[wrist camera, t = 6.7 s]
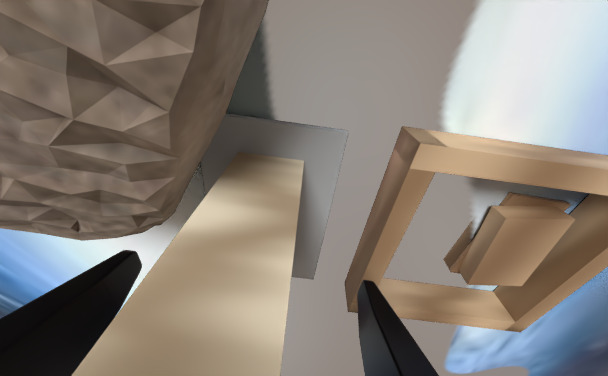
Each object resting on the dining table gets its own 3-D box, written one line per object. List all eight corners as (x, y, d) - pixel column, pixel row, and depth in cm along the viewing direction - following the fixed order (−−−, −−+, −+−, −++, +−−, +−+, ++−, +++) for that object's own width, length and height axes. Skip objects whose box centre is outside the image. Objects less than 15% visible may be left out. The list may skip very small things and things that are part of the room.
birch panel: (304, 160, 10) (266, 497, 3) (290, 261, 14) (258, 520, 6) (238, 151, 10) (-2, 472, 2) (242, 255, 14) (152, 509, 6)
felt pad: (347, 130, 10) (348, 133, 9) (313, 274, 15) (313, 279, 15) (197, 109, 10) (193, 111, 9) (217, 262, 15) (215, 267, 15)
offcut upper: (556, 206, 11) (575, 219, 10) (509, 271, 14) (521, 286, 13) (492, 205, 11) (506, 218, 10) (458, 270, 14) (467, 284, 13)
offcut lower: (553, 192, 12) (571, 204, 11) (486, 265, 15) (496, 278, 14) (498, 184, 12) (512, 194, 11) (443, 259, 15) (450, 272, 14)
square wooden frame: (646, 161, 10) (715, 184, 8) (498, 301, 16) (520, 332, 14) (402, 126, 10) (420, 143, 8) (344, 282, 15) (347, 311, 14)
